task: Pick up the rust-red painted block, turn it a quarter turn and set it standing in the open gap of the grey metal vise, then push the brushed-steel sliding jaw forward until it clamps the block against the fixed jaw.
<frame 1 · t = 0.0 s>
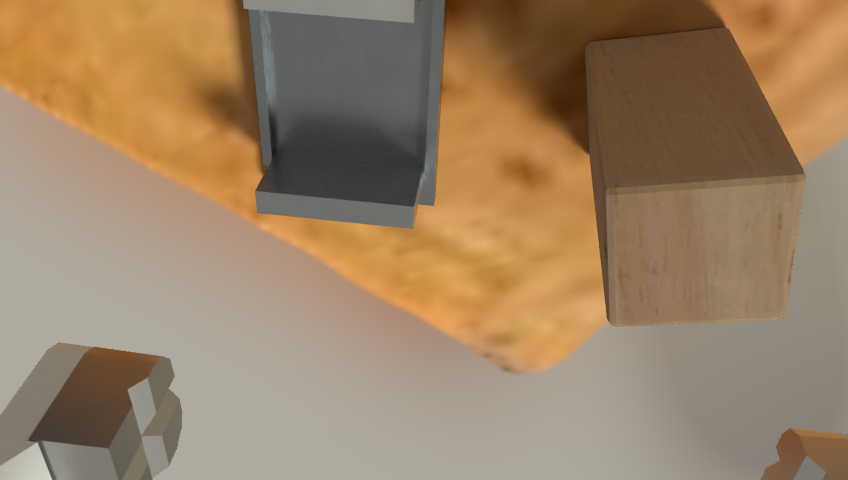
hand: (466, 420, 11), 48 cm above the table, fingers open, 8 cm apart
vise base: (351, 69, 60), on the table
wooden block: (654, 94, 59), on the table
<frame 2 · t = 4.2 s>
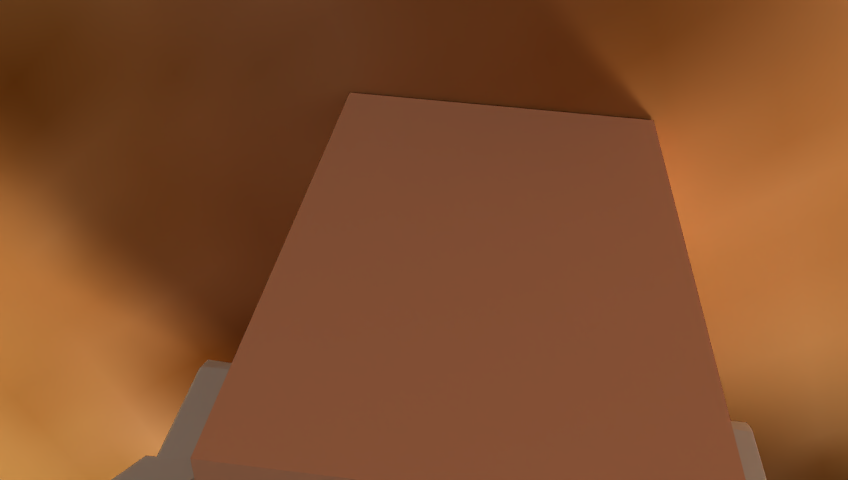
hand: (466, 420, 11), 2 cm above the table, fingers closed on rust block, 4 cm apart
rust block: (477, 306, 12), on the table, touching gripper
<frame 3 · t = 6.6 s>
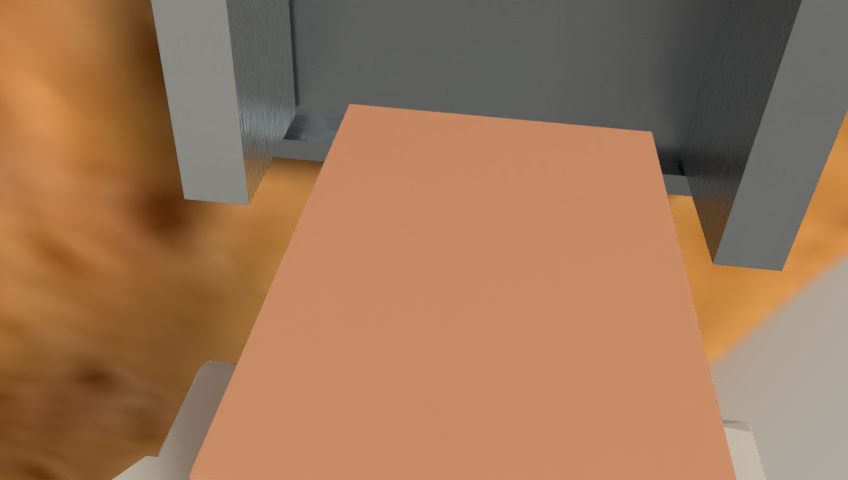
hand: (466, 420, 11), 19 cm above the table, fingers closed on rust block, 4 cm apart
rust block: (476, 314, 12), point 17 cm above the table, touching gripper
when the fingers open (5 cm above the table, at t = 9.2 s): rust block drops 1 cm, resting on vise base.
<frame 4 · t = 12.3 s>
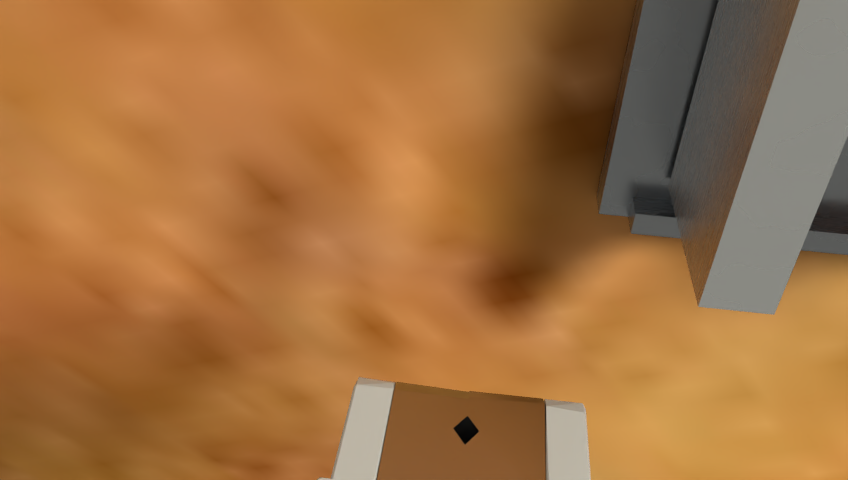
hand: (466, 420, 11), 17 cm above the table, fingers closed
sliding jaw: (771, 73, 20), point 5 cm above the table, slide at 0.0 cm
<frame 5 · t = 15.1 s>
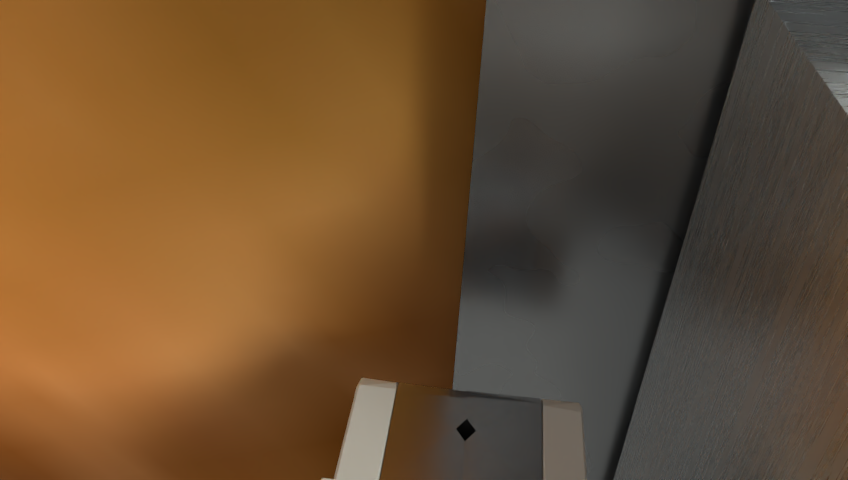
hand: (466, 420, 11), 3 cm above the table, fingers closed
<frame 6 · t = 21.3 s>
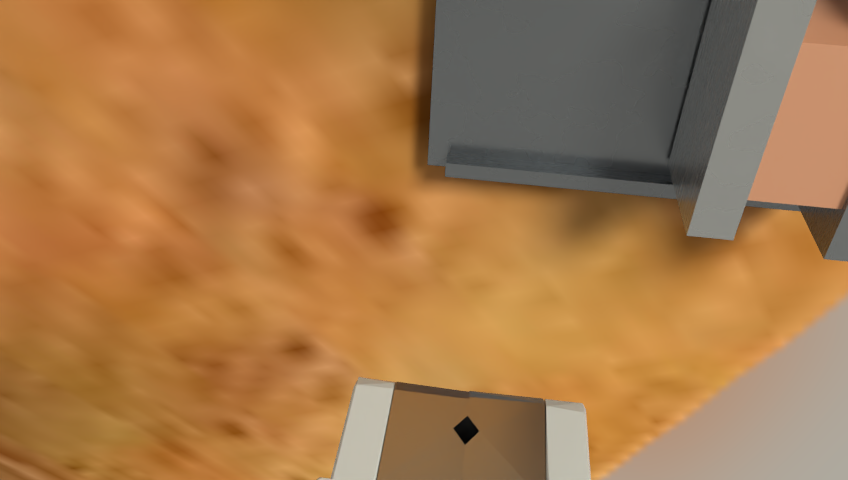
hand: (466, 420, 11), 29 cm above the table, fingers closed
vise base: (668, 46, 37), on the table
rust block: (783, 68, 36), point 1 cm above the table, touching sliding jaw, vise base
sliding jaw: (731, 92, 33), point 4 cm above the table, slide at 10.0 cm, touching rust block
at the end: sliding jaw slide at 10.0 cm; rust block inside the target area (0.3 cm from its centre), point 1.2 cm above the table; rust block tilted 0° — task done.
